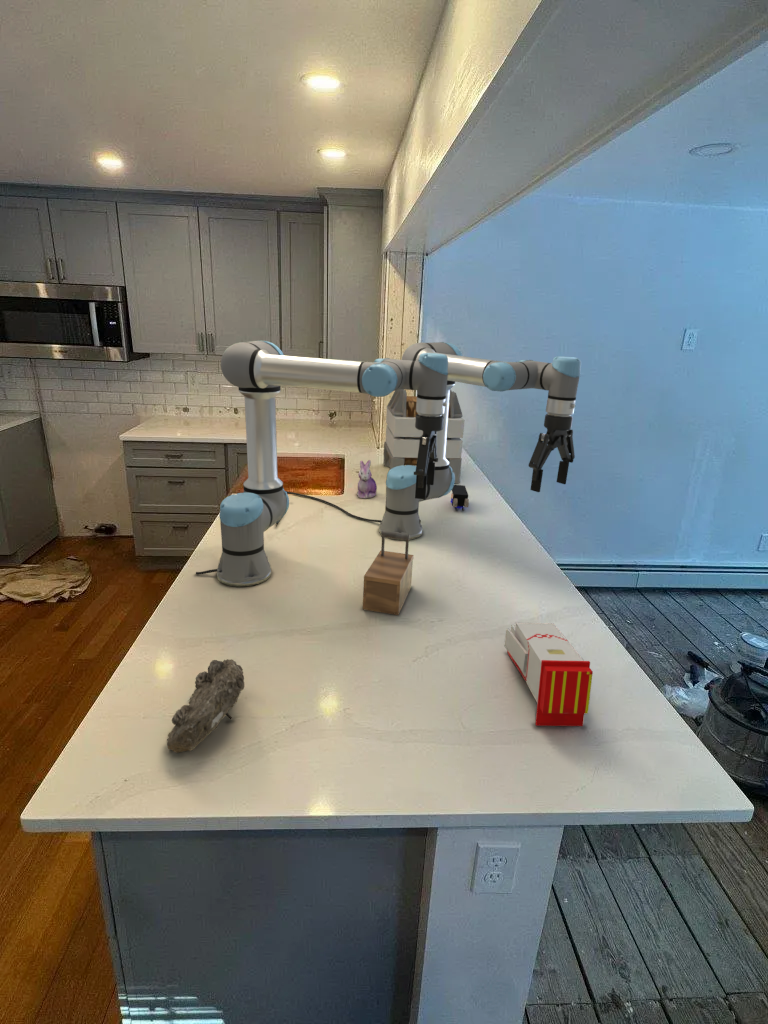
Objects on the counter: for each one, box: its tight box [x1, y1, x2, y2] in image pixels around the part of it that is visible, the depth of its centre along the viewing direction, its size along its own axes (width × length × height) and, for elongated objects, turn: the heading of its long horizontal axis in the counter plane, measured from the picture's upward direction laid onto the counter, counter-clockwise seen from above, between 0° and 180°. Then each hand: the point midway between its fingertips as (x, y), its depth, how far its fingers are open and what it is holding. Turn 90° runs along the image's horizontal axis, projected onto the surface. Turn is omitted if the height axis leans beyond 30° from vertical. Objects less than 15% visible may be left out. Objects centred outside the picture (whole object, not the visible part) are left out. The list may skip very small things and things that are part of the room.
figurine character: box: [449, 484, 470, 512], centre depth 229 cm, size 7×8×15 cm
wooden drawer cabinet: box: [383, 389, 465, 484], centre depth 268 cm, size 34×33×41 cm
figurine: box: [356, 459, 378, 499], centre depth 236 cm, size 9×10×15 cm
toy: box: [503, 622, 594, 727], centre depth 121 cm, size 12×13×30 cm
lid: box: [363, 531, 414, 585], centre depth 151 cm, size 17×10×8 cm, turn 166°
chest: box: [362, 559, 414, 616], centre depth 154 cm, size 17×10×9 cm, turn 166°
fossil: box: [166, 658, 245, 754], centre depth 106 cm, size 22×10×15 cm
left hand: (424, 491), depth 156 cm, fingers open, 13 cm apart
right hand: (548, 487), depth 165 cm, fingers open, 13 cm apart
